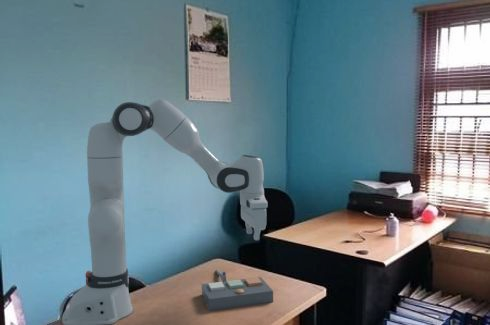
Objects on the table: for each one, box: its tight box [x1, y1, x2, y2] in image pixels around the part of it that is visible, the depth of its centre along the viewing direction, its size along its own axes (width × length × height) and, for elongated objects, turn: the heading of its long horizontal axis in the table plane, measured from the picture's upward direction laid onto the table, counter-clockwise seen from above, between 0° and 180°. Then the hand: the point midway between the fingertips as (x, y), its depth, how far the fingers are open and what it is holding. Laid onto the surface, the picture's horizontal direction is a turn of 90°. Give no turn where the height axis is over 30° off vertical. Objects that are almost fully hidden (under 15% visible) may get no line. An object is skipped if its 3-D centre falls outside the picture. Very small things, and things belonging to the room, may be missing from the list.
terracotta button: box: [244, 277, 262, 287], centre depth 156 cm, size 5×5×3 cm
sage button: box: [226, 279, 244, 289], centre depth 155 cm, size 5×5×3 cm
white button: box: [208, 281, 225, 292], centre depth 153 cm, size 5×5×3 cm
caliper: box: [215, 268, 227, 282], centre depth 171 cm, size 20×1×6 cm, turn 13°
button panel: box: [201, 276, 274, 311], centre depth 153 cm, size 23×14×5 cm, turn 106°
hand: (252, 236), depth 155 cm, fingers open, 8 cm apart
